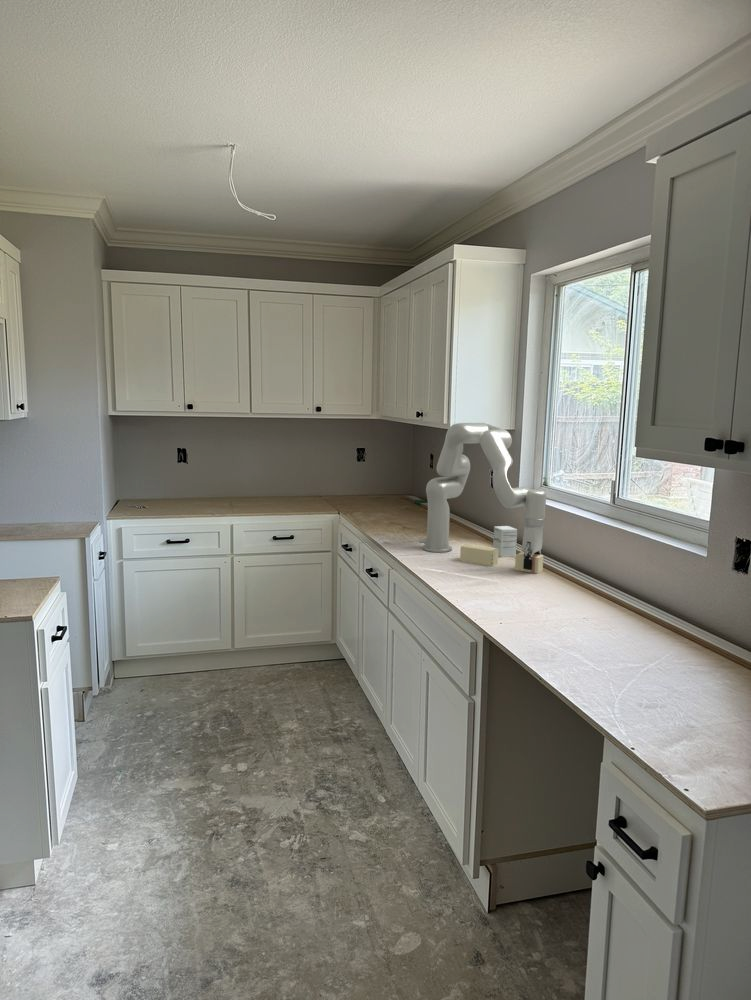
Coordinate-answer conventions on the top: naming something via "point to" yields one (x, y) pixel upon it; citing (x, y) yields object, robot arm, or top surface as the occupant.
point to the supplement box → (505, 541)
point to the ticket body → (479, 555)
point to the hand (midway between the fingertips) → (531, 566)
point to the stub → (536, 563)
